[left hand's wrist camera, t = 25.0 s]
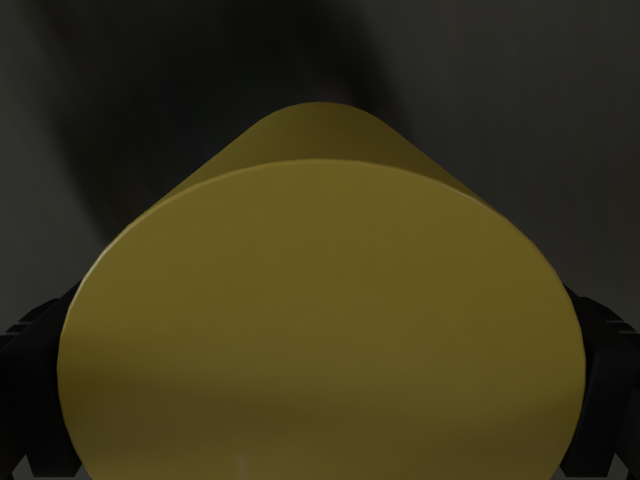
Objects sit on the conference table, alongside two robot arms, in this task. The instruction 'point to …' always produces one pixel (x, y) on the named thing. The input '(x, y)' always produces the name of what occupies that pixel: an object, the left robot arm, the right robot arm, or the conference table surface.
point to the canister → (321, 322)
